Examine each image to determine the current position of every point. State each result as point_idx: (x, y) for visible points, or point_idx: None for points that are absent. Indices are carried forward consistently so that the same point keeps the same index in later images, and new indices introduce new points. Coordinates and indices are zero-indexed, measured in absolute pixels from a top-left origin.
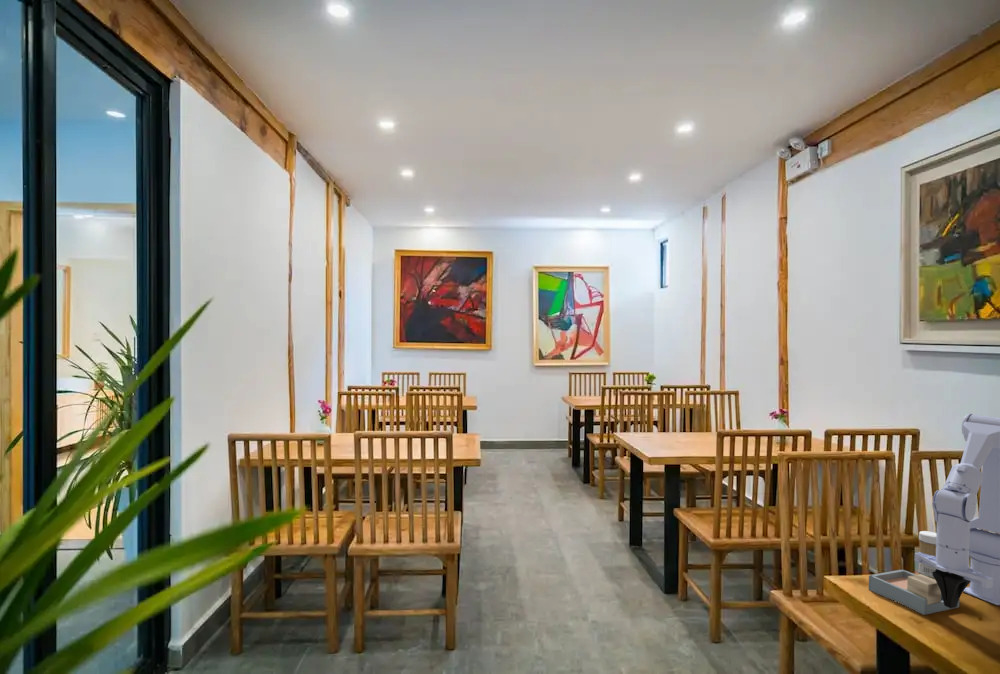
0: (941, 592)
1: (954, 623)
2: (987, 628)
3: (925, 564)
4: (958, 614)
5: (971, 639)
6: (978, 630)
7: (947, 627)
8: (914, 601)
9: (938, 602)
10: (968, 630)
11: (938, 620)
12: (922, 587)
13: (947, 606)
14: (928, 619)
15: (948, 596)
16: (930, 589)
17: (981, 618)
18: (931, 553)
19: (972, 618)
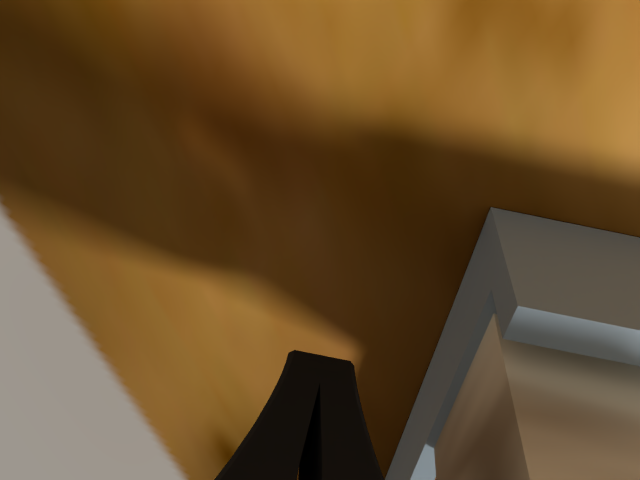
0: (369, 463)
1: (274, 261)
2: (129, 366)
3: None
4: None
5: (46, 67)
6: (132, 289)
7: (265, 130)
8: (611, 281)
9: (442, 426)
10: (160, 227)
11: (370, 207)
12: (592, 460)
13: (320, 357)
14: (433, 148)
15: (287, 435)
16: (504, 475)
17: None
18: None
19: None
